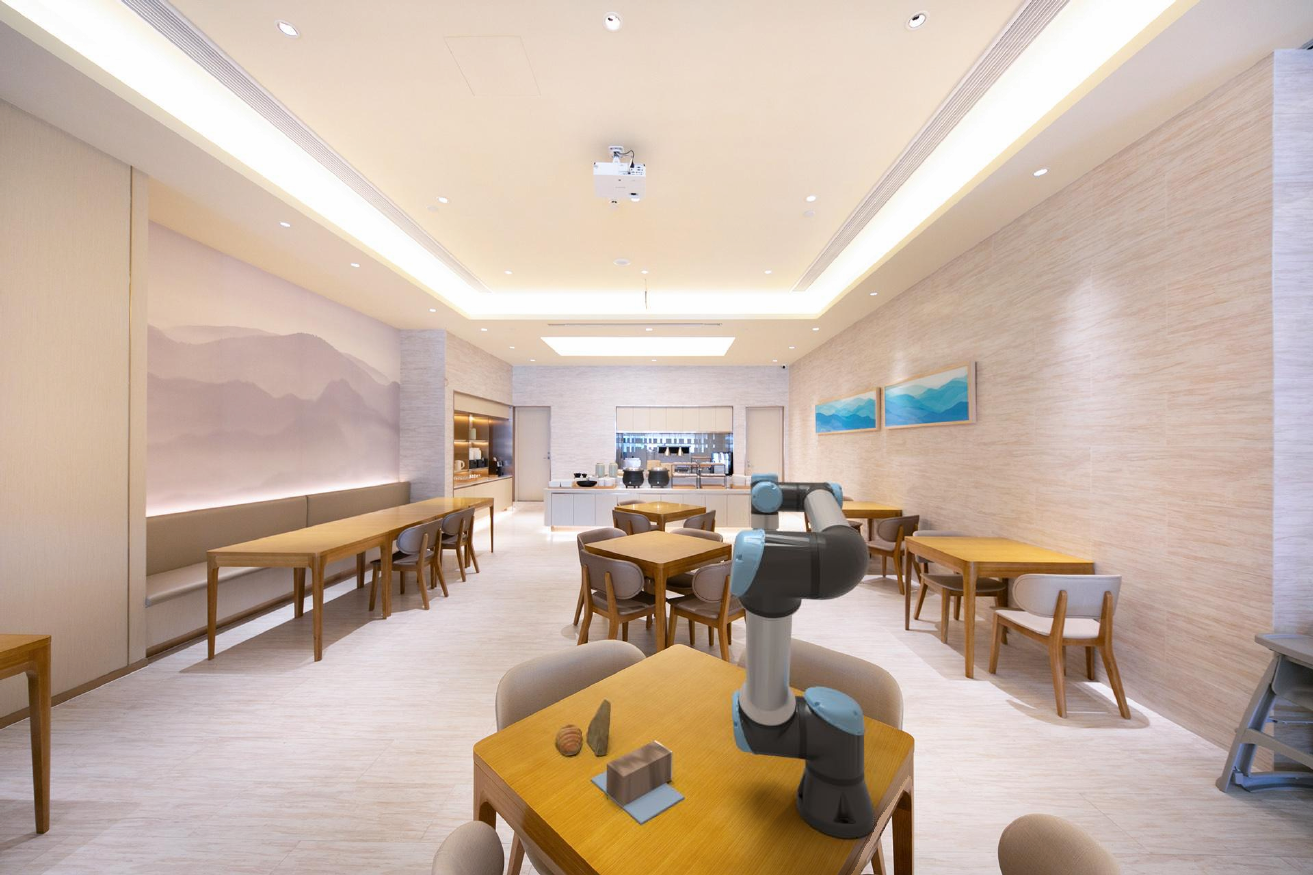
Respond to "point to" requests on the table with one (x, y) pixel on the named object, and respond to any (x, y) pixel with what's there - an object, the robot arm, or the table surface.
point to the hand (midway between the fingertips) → (764, 616)
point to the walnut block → (639, 772)
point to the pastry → (569, 739)
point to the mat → (645, 800)
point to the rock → (600, 729)
